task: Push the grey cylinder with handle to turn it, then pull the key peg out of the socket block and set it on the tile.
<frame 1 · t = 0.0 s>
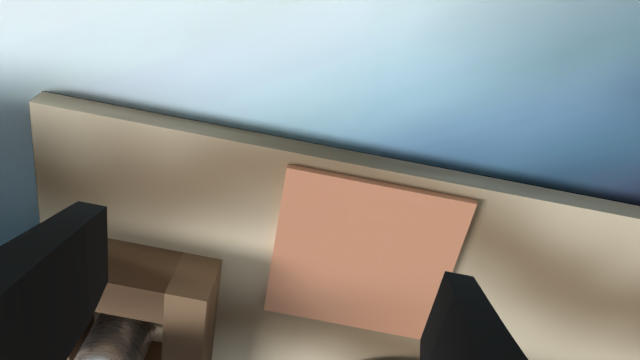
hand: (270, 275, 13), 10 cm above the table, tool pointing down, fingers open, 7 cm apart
key peg: (136, 306, 26), point 1 cm above the table, touching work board
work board: (384, 336, 27), on the table
tile: (362, 256, 24), resting on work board
socket block: (136, 306, 26), resting on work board
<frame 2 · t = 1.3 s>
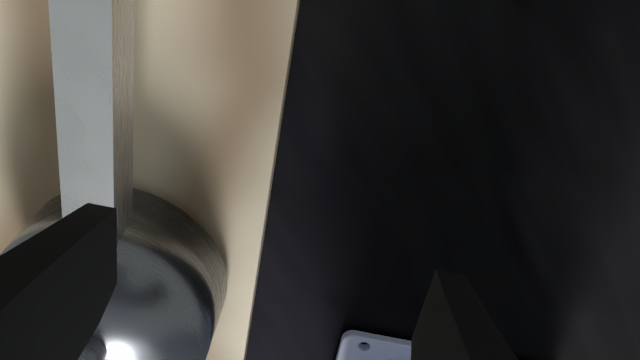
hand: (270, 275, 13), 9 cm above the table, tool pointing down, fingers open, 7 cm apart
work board: (46, 249, 25), on the table
grey cylinder with handle: (92, 223, 19), point 5 cm above the table, hinge at 0.0°
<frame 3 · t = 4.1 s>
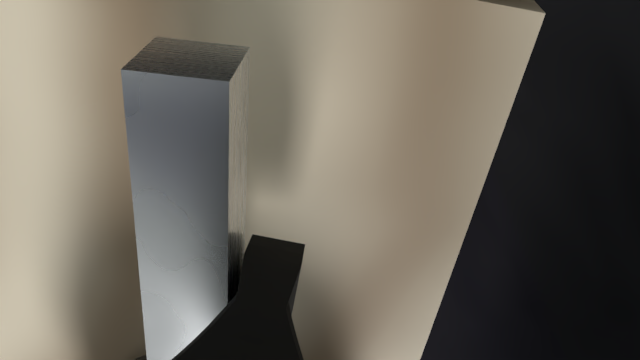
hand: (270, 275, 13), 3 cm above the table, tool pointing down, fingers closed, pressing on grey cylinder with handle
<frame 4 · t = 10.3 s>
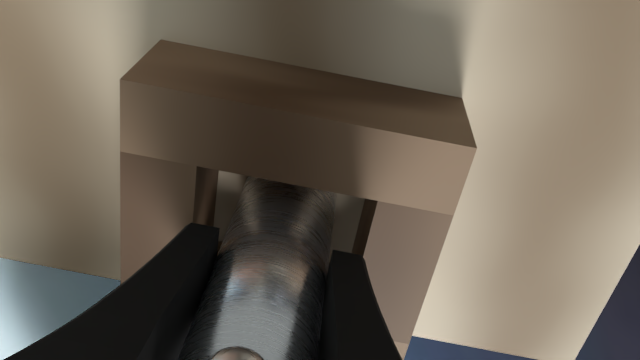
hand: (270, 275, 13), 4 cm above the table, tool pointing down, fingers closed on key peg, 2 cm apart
key peg: (290, 195, 15), point 1 cm above the table, touching gripper, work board
socket block: (290, 195, 15), resting on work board
when the fingers open (6 cm above the table, at t = 13.4 s): key peg stays where it is, resting on tile.
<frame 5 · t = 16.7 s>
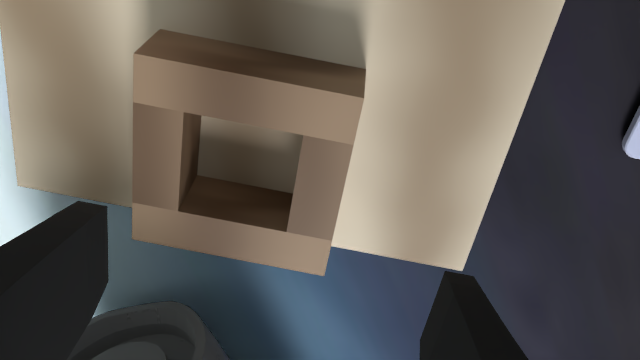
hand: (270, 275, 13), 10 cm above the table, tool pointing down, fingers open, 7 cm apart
socket block: (251, 140, 22), resting on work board
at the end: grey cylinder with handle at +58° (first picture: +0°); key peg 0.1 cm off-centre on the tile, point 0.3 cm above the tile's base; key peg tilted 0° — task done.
